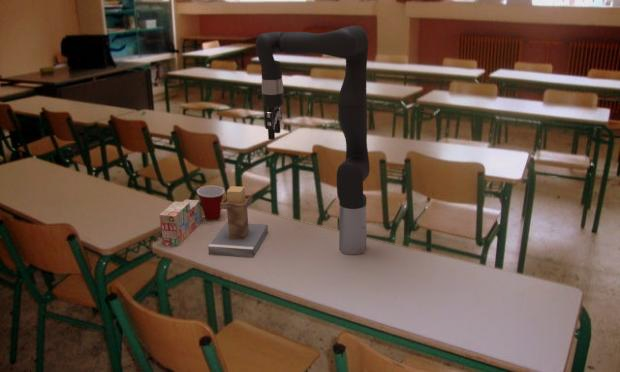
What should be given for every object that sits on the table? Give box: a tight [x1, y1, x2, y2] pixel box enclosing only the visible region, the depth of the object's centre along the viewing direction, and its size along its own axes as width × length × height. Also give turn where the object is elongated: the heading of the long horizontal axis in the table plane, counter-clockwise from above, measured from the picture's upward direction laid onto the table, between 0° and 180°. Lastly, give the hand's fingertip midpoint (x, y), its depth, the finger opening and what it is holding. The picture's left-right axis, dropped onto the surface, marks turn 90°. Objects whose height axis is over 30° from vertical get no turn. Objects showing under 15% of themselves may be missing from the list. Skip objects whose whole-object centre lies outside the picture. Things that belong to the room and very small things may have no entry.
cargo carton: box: [226, 185, 246, 204], centre depth 195 cm, size 5×5×5 cm
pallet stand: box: [220, 194, 254, 239], centre depth 198 cm, size 9×9×14 cm
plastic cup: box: [196, 184, 225, 221], centre depth 220 cm, size 11×11×12 cm
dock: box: [207, 221, 269, 258], centre depth 201 cm, size 16×20×3 cm
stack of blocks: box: [159, 199, 203, 247], centre depth 208 cm, size 21×6×12 cm, turn 167°
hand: (274, 136), depth 200 cm, fingers open, 8 cm apart
